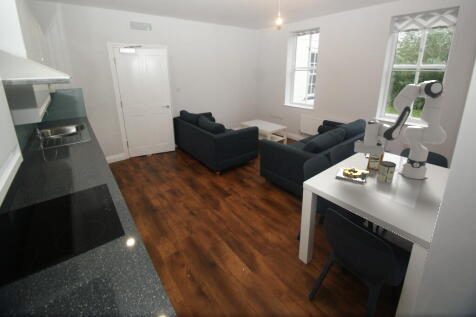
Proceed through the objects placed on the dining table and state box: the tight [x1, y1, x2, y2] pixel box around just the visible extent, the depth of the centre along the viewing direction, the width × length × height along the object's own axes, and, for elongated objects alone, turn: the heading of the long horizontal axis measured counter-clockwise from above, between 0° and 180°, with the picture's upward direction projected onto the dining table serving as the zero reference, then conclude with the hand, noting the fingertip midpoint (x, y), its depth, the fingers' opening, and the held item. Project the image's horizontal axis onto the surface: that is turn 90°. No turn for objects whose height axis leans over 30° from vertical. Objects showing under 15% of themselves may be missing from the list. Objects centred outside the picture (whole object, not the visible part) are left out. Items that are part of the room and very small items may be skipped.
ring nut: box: [343, 167, 370, 178], centre depth 182 cm, size 13×18×4 cm
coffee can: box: [376, 160, 397, 184], centre depth 175 cm, size 10×10×14 cm
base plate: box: [335, 166, 367, 185], centre depth 184 cm, size 20×20×6 cm
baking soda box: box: [366, 150, 385, 172], centre depth 195 cm, size 10×6×16 cm
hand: (367, 158), depth 181 cm, fingers closed
